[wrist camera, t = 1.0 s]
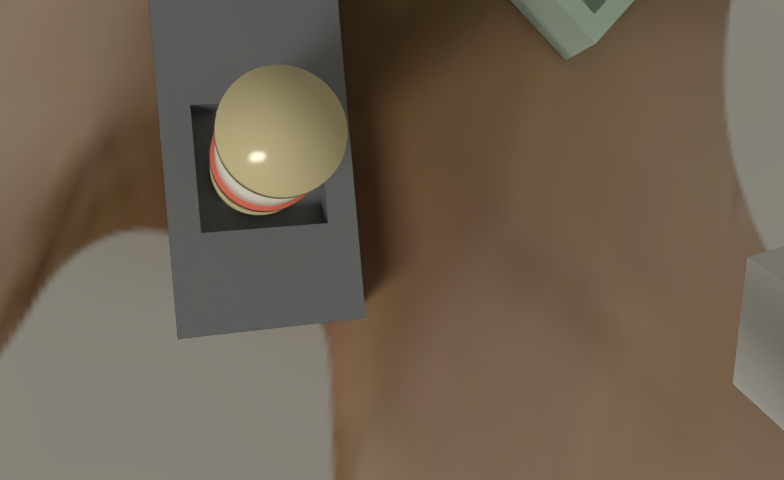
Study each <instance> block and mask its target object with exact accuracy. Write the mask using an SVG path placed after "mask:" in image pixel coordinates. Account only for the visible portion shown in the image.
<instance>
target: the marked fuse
mask: <svg viewBox="0 0 784 480" xmlns="http://www.w3.org/2000/svg"><path fill="white" fill-rule="evenodd" d="M347 136H348V129H347V121H346V117H345V113H344V110H343V108H342V105H341V103H340V101H339V100H338V98H337V96H336V95H335V93H334V92H333V91H332V90H331V89H330V87H329V86H328V85H327V84H326V83H325V82H323V81H322V80H321V79H320V78H318V77H317V76H315V75H314V74H312V73H310V72H308V71H306V70H304V69H301V68H298V67H294V66H289V65H268V66H263V67H260V68H256V69H254V70H252V71H249V72H247V73H246V74H244V75H243V76H241V77H240V78H238V79H237V80H236V81H235V82H234V83H233V84H232V85H231V86H230V87H229V88H228V90H227V91H226V93H225V94H224V96H223V97H222V99H221V102H220V104H219V106H218V110H217V113H216V119H215V126H214V134H213V137H212V141H211V146H210V154H209V162H210V163H209V172H210V179H211V182H212V185H213V188H214V190H215V191H216V193H217V195H218V196H219V197H220V199H221V200H222V201H223V202H224V203H225V204H226V205H228V206H229V207H230V208H232V209H234V210H235V211H238V212H240V213H243V214H246V215H251V216H266V215H270V214H273V213H276V212H278V211H280V210H282V209H284V208H287V207H289V206H291V205H292V204H294V203H296V202H297V201H298V200H300V199H301V198H302V197H304V196H305V195H306V194H307V193H308V192H310V191H312V190H314V189H315V188H317V187H318V186H320V185H321V184H323V183H324V182H325V181H326V180H327V179H329V178H330V177H331V175H332V174H333V173H334V172H335V171H336V169H337V168H338V166H339V164H340V163H341V160H342V158H343V156H344V153H345V149H346V145H347Z"/></svg>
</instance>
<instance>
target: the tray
mask: <svg viewBox="0 0 784 480" xmlns="http://www.w3.org/2000/svg"><path fill="white" fill-rule="evenodd" d="M510 1H511V2H512V3H513V4H514V5H515V6H516V7H517V8H518V9H519V10H520V11H521V13H522V14H523V15H524V16H525V17H526V18H527V19H528V20H529V21H530V22H531V23H532V24H533V25H534V27H535V28H536V29H537V30H538V31H539V32H540V33H541V34H542V35H543V36H544V37H545V38H546V40H547V41H548V42H549V43H550V44H551V45H552V46H553V47H554V48H555V49H556V50H557V51H558V52H559V54H560V55H561V56H562V57H563V58H564V59H565V60H567V59H569V58H570V57H572V56H574V55H576V54H578V53H579V52H581V51H583V50H585V49H587V48H589V47H590V46H592V45H594V44H596V43H597V42H598V40H599V39H600V38H601V37H602V36H603V35H604V34H605V33H606V31H607V30H608V29H609V28H610V27H611V26H612V25H613V24H614V22H615V21H616V20H617V19H618V18H619V17H620V16H621V15H622V14H623V12H624V11H625V10H626V9H627V8H628V7H629V6H630V5H631V3H632V2H633V1H634V0H510Z"/></svg>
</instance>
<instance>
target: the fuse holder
mask: <svg viewBox="0 0 784 480" xmlns="http://www.w3.org/2000/svg"><path fill="white" fill-rule="evenodd" d="M149 9H150V21H151V33H152V44H153V56H154V68H155V79H156V91H157V103H158V115H159V126H160V138H161V150H162V161H163V173H164V185H165V196H166V208H167V220H168V231H169V243H170V255H171V267H172V278H173V289H174V302H175V313H176V324H177V337H178V339H183V338H192V337H201V336H210V335H218V334H227V333H236V332H245V331H254V330H263V329H271V328H281V327H290V326H298V325H307V324H316V323H325V322H334V321H343V320H352V319H361V318H366V314H365V303H364V292H363V280H362V269H361V258H360V246H359V235H358V224H357V212H356V201H355V189H354V178H353V167H352V155H351V144H350V133H349V121H348V110H347V98H346V87H345V76H344V64H343V53H342V42H341V30H340V19H339V8H338V0H149ZM268 65H289V66H294V67H298V68H301V69H304V70H306V71H308V72H310V73H312V74H314V75H315V76H317V77H318V78H320V79H321V80H322V81H323V82H325V83H326V84H327V85H328V86H329V87H330V89H331V90H332V91H333V92H334V93H335V95H336V96H337V98H338V100H339V101H340V103H341V105H342V108H343V110H344V113H345V117H346V121H347V129H348V136H347V145H346V149H345V153H344V156H343V158H342V160H341V163H340V164H339V166H338V168H337V169H336V171H335V172H334V173H333V174H332V175H331V177H330V178H329V179H327V180H326V181H325V182H324V183H323V184H321V185H320V186H318V187H317V188H315V189H314V190H312V191H310V192H308V193H307V194H306V195H305V196H304V197H302V198H301V199H300V200H298V201H297V202H296V203H294V204H292V205H291V206H289V207H287V208H284V209H282V210H280V211H278V212H276V213H273V214H270V215H266V216H251V215H246V214H243V213H240V212H238V211H235V210H234V209H232V208H230V207H229V206H228V205H226V204H225V203H224V202H223V201H222V200H221V199H220V197H219V196H218V195H217V193H216V191H215V190H214V188H213V185H212V182H211V179H210V172H209V163H210V162H209V154H210V146H211V141H212V137H213V134H214V126H215V119H216V113H217V110H218V106H219V104H220V102H221V99H222V97H223V96H224V94H225V93H226V91H227V90H228V88H229V87H230V86H231V85H232V84H233V83H234V82H235V81H236V80H237V79H238V78H240V77H241V76H243V75H244V74H246V73H247V72H249V71H252V70H254V69H256V68H260V67H263V66H268Z"/></svg>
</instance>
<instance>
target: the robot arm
mask: <svg viewBox="0 0 784 480" xmlns="http://www.w3.org/2000/svg"><path fill="white" fill-rule="evenodd" d="M733 384H734V385H735V386H736V387H737V388H738V389H739V390H740V391H741V392H743V393H744V394H745V395H746V396H747V397H748V398H749V399H750V400H751V401H752V402H753V403H755V404H756V405H757V406H758V407H759V408H760V409H761V410H762V411H763V412H764V413H765V414H767V415H768V416H769V417H770V418H771V419H772V420H773V421H774V422H775V423H776V424H777V425H779V426H780V427H781V428H782V429H783V430H784V247H780V248H777V249H773V250H770V251H767V252H763V253H760V254H756V255H753V256H750V257H747V266H746V274H745V283H744V292H743V300H742V309H741V318H740V326H739V335H738V344H737V352H736V361H735V370H734V378H733Z"/></svg>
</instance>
